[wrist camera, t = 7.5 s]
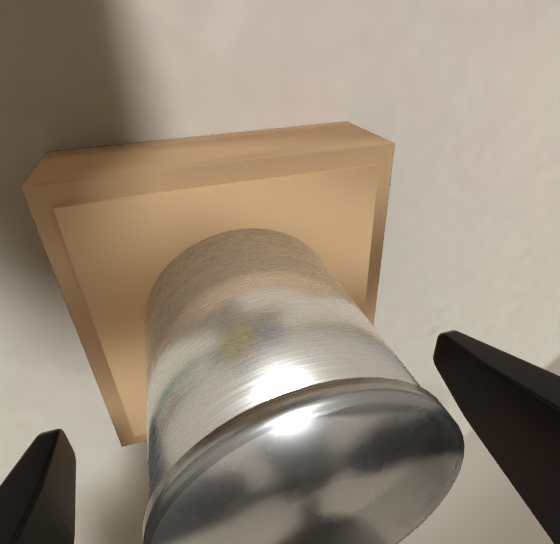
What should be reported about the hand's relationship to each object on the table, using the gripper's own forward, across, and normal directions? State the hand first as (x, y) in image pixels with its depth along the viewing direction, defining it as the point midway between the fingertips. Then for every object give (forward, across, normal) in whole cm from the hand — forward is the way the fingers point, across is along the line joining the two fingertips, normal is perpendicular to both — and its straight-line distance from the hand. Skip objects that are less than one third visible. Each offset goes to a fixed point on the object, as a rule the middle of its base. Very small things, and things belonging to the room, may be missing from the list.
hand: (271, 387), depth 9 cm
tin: (+3, 0, 0) cm, 3 cm away
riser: (+6, 0, 0) cm, 6 cm away
